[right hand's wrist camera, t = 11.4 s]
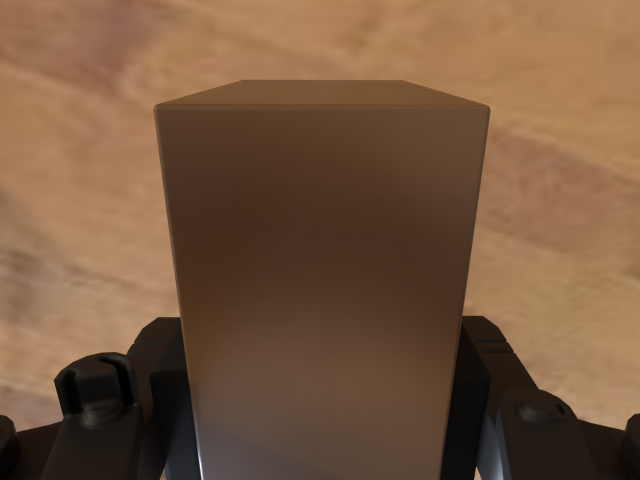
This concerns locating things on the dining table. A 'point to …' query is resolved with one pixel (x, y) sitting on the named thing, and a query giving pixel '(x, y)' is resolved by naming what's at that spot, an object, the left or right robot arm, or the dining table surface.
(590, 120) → the dining table surface
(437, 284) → the beam
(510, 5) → the dining table surface
